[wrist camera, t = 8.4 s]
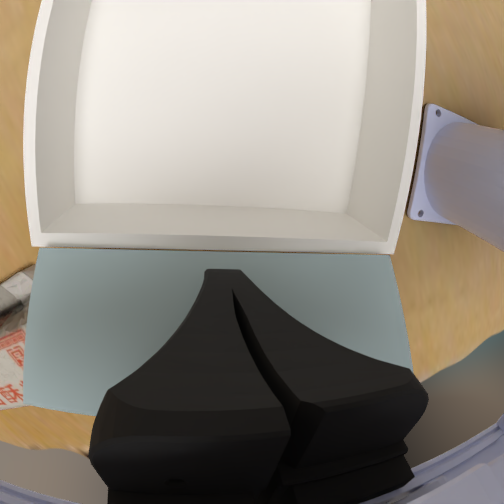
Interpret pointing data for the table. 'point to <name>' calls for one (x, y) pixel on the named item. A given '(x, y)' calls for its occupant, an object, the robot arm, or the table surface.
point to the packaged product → (13, 336)
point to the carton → (223, 123)
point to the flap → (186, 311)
